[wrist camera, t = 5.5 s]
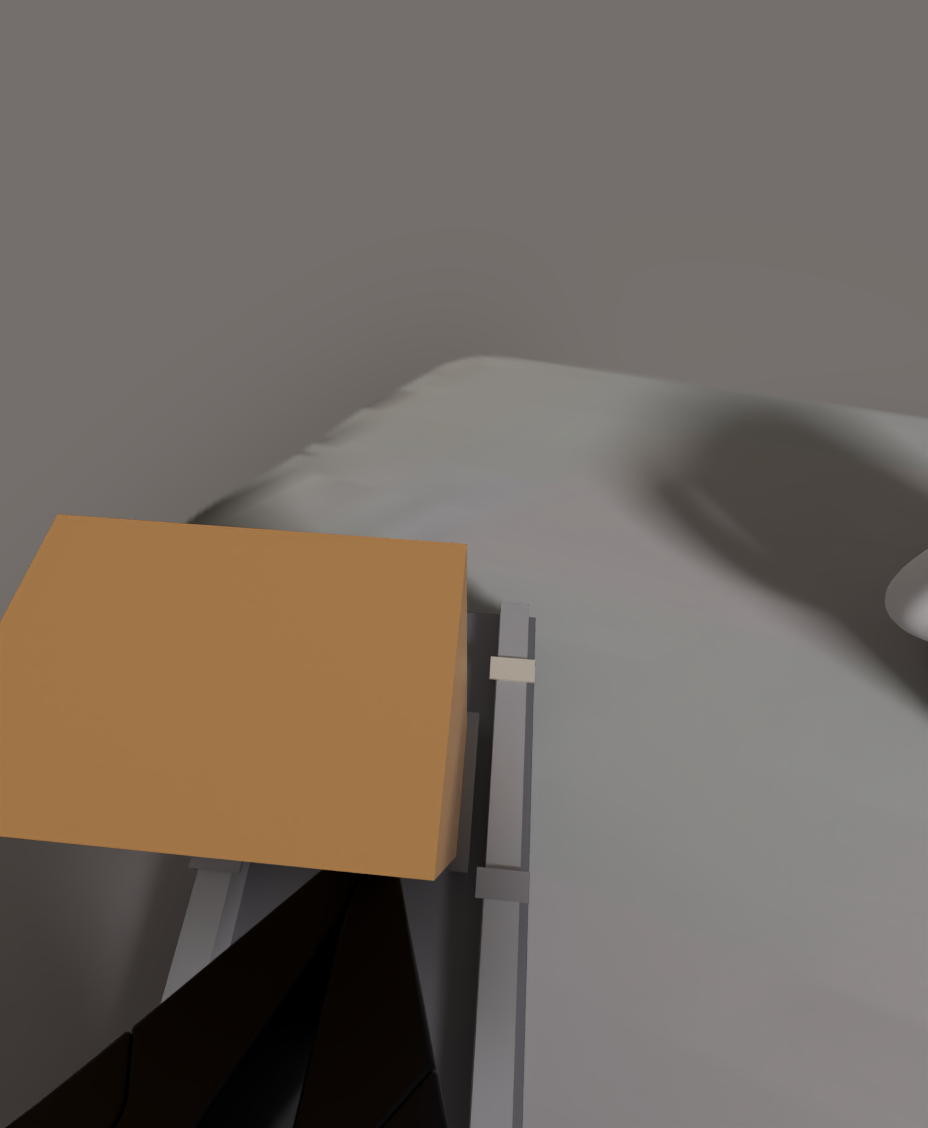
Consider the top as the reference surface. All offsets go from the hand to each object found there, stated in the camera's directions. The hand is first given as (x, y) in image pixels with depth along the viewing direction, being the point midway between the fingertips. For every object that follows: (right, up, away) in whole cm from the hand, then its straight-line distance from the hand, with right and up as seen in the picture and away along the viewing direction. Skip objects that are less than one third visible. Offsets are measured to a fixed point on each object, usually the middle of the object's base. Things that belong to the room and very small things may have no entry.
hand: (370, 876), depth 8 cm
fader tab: (-1, -1, +6) cm, 6 cm away
